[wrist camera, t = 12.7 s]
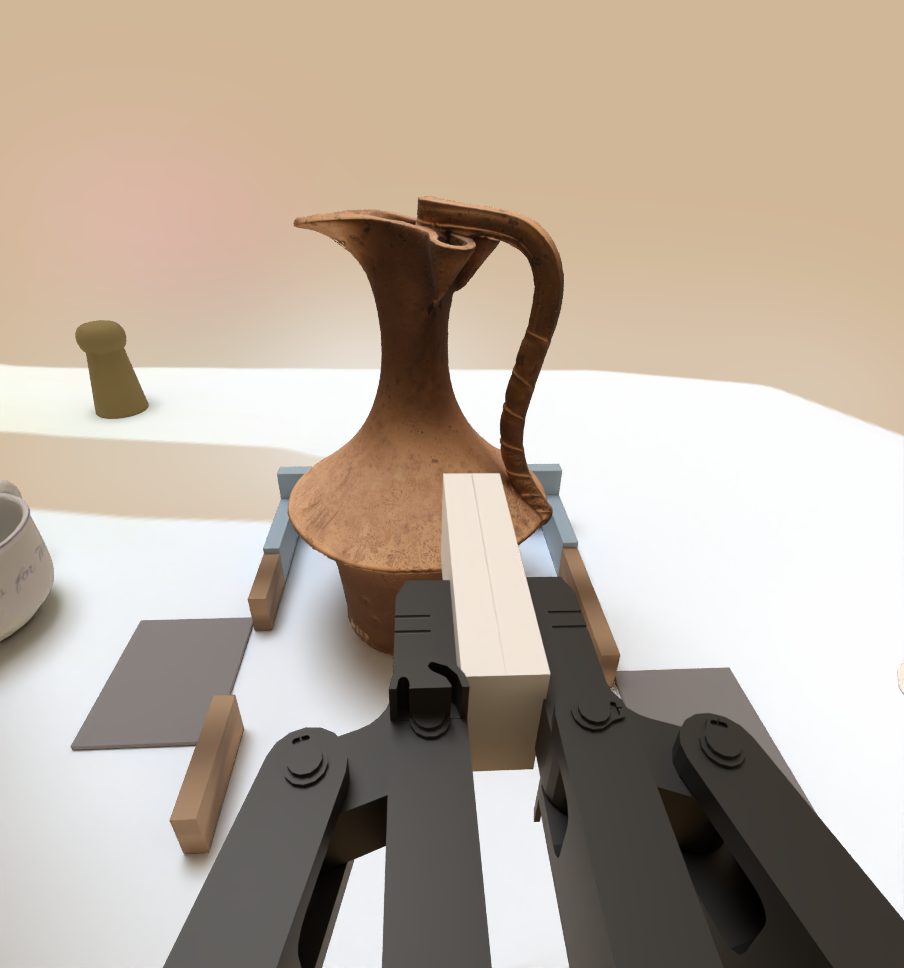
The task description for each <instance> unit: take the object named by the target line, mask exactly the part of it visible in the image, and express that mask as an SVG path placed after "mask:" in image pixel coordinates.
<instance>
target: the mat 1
mask: <svg viewBox="0 0 904 968" xmlns="http://www.w3.org/2000/svg"><path fill="white" fill-rule="evenodd" d="M252 627H253V621H252V618H217V619H180V620H143V621H140V623H139V625H138V627H137V629H136V630H135V632H134V634H133V636H132V637H131V639H130V641H129V643H128V645H127V646H126V648H125V650H124V652H123V654H122V655H121V657H120V659H119V661H118V663H117V664H116V666H115V668H114V670H113V671H112V673H111V675H110V677H109V679H108V680H107V682H106V684H105V686H104V688H103V689H102V691H101V693H100V695H99V697H98V698H97V700H96V702H95V704H94V706H93V707H92V709H91V711H90V713H89V714H88V716H87V718H86V720H85V722H84V723H83V725H82V727H81V729H80V731H79V732H78V734H77V736H76V738H75V740H74V741H73V743H72V745H71V749H72V750H82V749H107V748H132V747H156V746H181V745H196V744H197V741H198V739H199V736H200V733H201V730H202V727H203V725H204V722H205V719H206V716H207V713H208V710H209V708H210V705H211V702H212V699H213V696H217V695H231V692H232V689H233V686H234V682H235V679H236V676H237V673H238V670H239V667H240V664H241V661H242V658H243V655H244V652H245V649H246V645H247V642H248V639H249V636H250V633H251V630H252Z"/></svg>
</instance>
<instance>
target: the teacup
mask: <svg viewBox="0 0 904 968" xmlns="http://www.w3.org/2000/svg"><path fill="white" fill-rule="evenodd" d="M53 580H54V568H53V563H52V560H51V557H50V554H49V552H48V550H47V547H46V545H45V543H44V541H43V539H42V537H41V535H40V533H39V531H38V529H37V527H36V525H35V523H34V521H33V520H32V518H31V516H30V509H29V507H28V505H27V504H26V502H25V501H24V500H23V499H22V496H21V493H20V491H19V490H18V488H17V487H16V486H15V485H14V484H13V483H11V482H9V481H6V480H0V641H2V640H3V639H5V638H7V637H8V636H10V635H12V634H13V633H14V632H16V631H17V630H19V629H20V628H21V627H22V626H23V625H24V624H25V623H27V622H28V621H29V620H30V619H31V617H32V616H33V615H34V614H35V613H36V611H37V609H38V608H39V607H40V606H41V604H42V603H43V602H44V601H45V599H46V598H47V596H48V594H49V592H50V590H51V587H52V585H53Z"/></svg>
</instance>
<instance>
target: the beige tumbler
mask: <svg viewBox="0 0 904 968" xmlns="http://www.w3.org/2000/svg"><path fill="white" fill-rule="evenodd" d="M897 673H898V682H899V687H900V689H901V690H902V692H903V693H904V659H903V661H902V662H901V664H900V666H899V668H898V670H897Z"/></svg>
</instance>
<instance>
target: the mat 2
mask: <svg viewBox="0 0 904 968" xmlns="http://www.w3.org/2000/svg"><path fill="white" fill-rule="evenodd" d="M615 682H616V685H617V687H618V690H619V693H620V696H621V698H622V701H623V702H624V704H625V706H626V707H627V708H629V709H630V710H632V711H634V712H636V713H637V714H639V715H642V716H645V717H648V718H651V719H655V720H658V721H662V722H666V723H670V724H674V725H678V726H681V727H682V725H683V723H684V721H685V720H686V719H687V718H689V717H691V716H693V715H694V714H701V713H712V714H716V715H720V716H724V717H726V718H728V719H730V720H732V721H734V722H735V723H737V724H739V725H741V726H742V727H743V728H744V729H745V730H746V731H747V732H748V733H749V734H750V735H751V736H752V737H753V738H754V739H755V740H756V741H757V742H758V744H759V745H760V746H761V747H762V749H763V750H764V751H765V752H766V753H767V755H768V756H769V757H770V758H771V759H772V761H773V762H774V763H775V764H776V766H777V767H778V768H779V769H780V770H781V772H782V773H783V774H784V775H785V776H786V778H787V779H788V780H789V781H790V783H791V784H792V785H793V786H794V787H795V789H796V790H797V791H798V792H799V793H800V795H801V796H802V797H803V798H804V800H805V801H806V802H807V803H808V804H809V806H810V807H811V808H812V809H813V807H812V805H811V804H810V802H809V800H808V799H807V797H806V795H805V794H804V792H803V790H802V789H801V787H800V785H799V784H798V782H797V780H796V779H795V777H794V775H793V774H792V772H791V770H790V769H789V767H788V765H787V764H786V762H785V760H784V759H783V757H782V755H781V753H780V752H779V750H778V748H777V747H776V745H775V743H774V742H773V740H772V738H771V737H770V735H769V733H768V732H767V730H766V728H765V727H764V725H763V723H762V722H761V720H760V718H759V717H758V715H757V713H756V712H755V710H754V708H753V707H752V705H751V703H750V702H749V700H748V698H747V697H746V695H745V693H744V692H743V690H742V688H741V687H740V685H739V683H738V682H737V680H736V678H735V677H734V675H733V673H732V671H731V670H730V668H702V669H672V670H643V671H616V675H615ZM813 810H814V809H813ZM814 812H815V810H814ZM815 813H816V812H815Z"/></svg>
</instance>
